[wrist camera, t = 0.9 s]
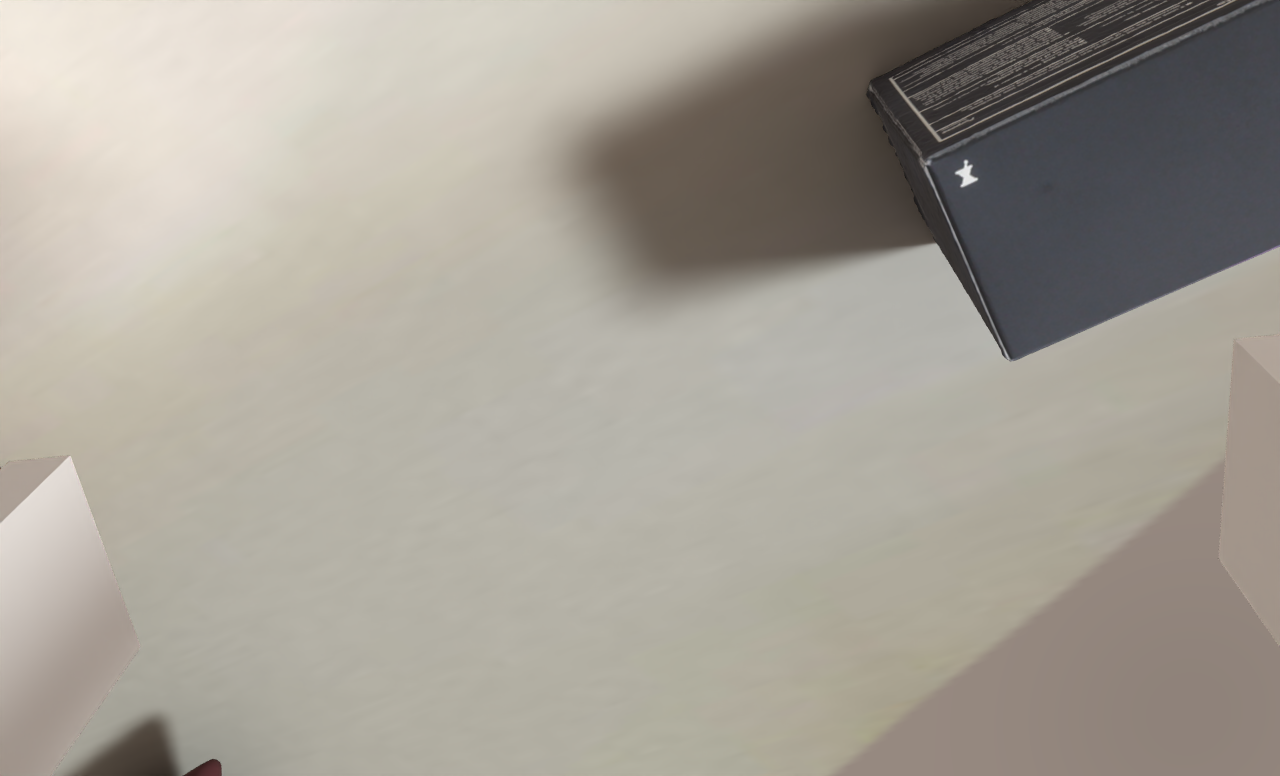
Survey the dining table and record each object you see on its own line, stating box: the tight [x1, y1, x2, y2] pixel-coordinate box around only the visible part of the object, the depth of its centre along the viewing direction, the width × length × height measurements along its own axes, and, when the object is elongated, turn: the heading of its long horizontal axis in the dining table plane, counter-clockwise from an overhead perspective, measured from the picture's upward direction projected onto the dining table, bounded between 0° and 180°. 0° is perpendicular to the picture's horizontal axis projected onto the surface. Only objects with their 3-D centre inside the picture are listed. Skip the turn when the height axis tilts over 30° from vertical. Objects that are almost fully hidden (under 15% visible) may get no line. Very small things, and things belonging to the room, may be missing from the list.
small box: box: [866, 0, 1280, 361], centre depth 34 cm, size 11×6×10 cm, turn 118°
